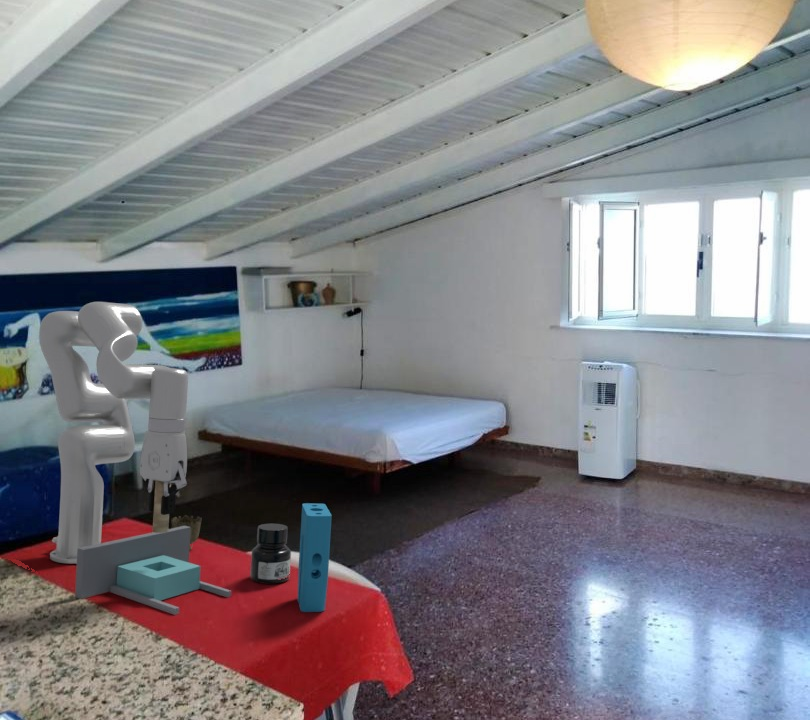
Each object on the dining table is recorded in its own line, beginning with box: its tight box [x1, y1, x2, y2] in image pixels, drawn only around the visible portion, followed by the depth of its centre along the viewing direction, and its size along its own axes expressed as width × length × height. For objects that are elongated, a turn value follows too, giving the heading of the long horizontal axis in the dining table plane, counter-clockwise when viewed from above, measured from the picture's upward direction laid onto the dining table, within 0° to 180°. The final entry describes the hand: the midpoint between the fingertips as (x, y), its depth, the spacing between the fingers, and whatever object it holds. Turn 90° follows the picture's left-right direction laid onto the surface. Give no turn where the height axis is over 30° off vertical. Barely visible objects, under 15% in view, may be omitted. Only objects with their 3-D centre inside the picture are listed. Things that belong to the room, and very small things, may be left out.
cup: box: [170, 514, 203, 550], centre depth 194 cm, size 8×7×8 cm
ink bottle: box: [249, 523, 292, 585], centre depth 174 cm, size 10×9×12 cm
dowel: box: [152, 480, 172, 533], centre depth 162 cm, size 3×3×12 cm
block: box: [297, 502, 332, 613], centre depth 159 cm, size 12×5×20 cm, turn 13°
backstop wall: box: [74, 526, 232, 615], centre depth 161 cm, size 22×28×10 cm
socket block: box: [117, 555, 202, 601], centre depth 162 cm, size 12×12×5 cm
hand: (161, 511), depth 162 cm, fingers closed on dowel, 3 cm apart
